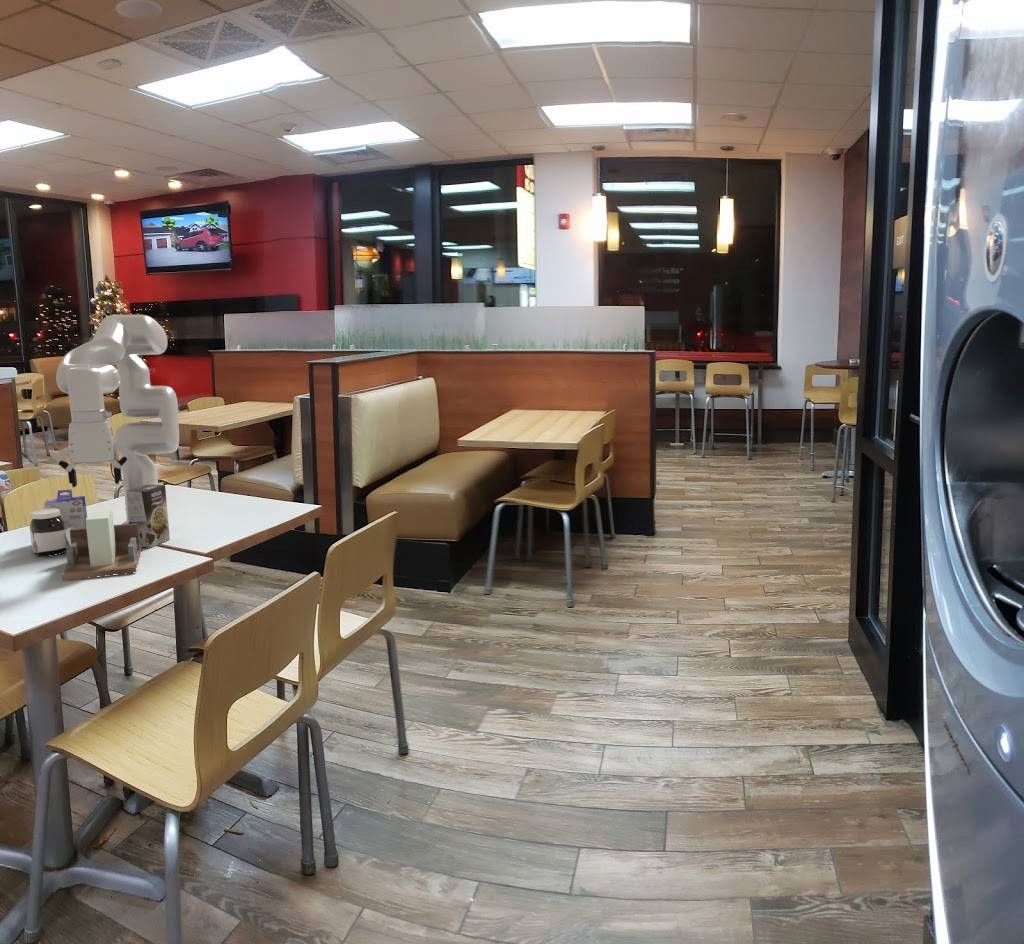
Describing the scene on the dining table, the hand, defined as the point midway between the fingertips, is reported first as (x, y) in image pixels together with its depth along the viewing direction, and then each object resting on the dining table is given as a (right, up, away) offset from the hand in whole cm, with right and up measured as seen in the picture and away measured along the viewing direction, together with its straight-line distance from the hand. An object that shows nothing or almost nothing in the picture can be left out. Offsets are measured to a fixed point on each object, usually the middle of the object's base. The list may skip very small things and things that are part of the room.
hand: (96, 484), depth 203 cm
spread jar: (-18, -19, +16) cm, 31 cm away
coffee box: (+3, -17, +24) cm, 29 cm away
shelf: (0, -21, +3) cm, 21 cm away
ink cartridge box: (-22, -17, +27) cm, 39 cm away
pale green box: (0, -19, +3) cm, 20 cm away
